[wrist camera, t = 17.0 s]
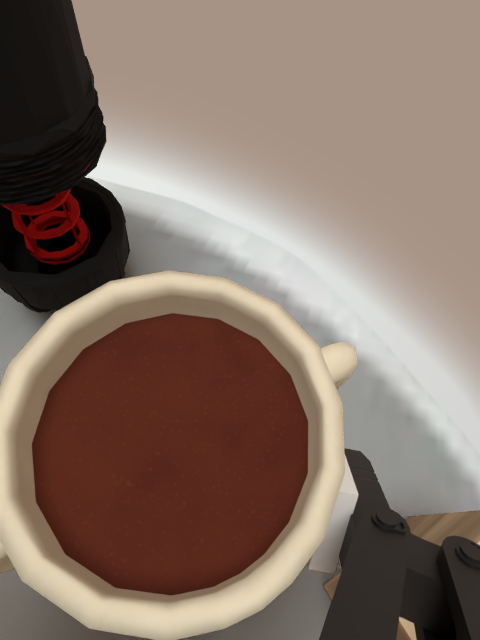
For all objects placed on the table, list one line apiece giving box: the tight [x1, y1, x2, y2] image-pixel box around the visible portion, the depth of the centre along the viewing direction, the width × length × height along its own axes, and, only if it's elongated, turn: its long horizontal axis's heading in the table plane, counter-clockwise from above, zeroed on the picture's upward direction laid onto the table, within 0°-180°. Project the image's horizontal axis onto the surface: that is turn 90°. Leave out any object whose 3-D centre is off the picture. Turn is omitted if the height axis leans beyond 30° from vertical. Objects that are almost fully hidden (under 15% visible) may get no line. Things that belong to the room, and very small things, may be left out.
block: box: [323, 511, 480, 640], centre depth 19 cm, size 7×7×10 cm
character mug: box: [0, 270, 357, 640], centre depth 14 cm, size 11×7×13 cm, turn 118°
